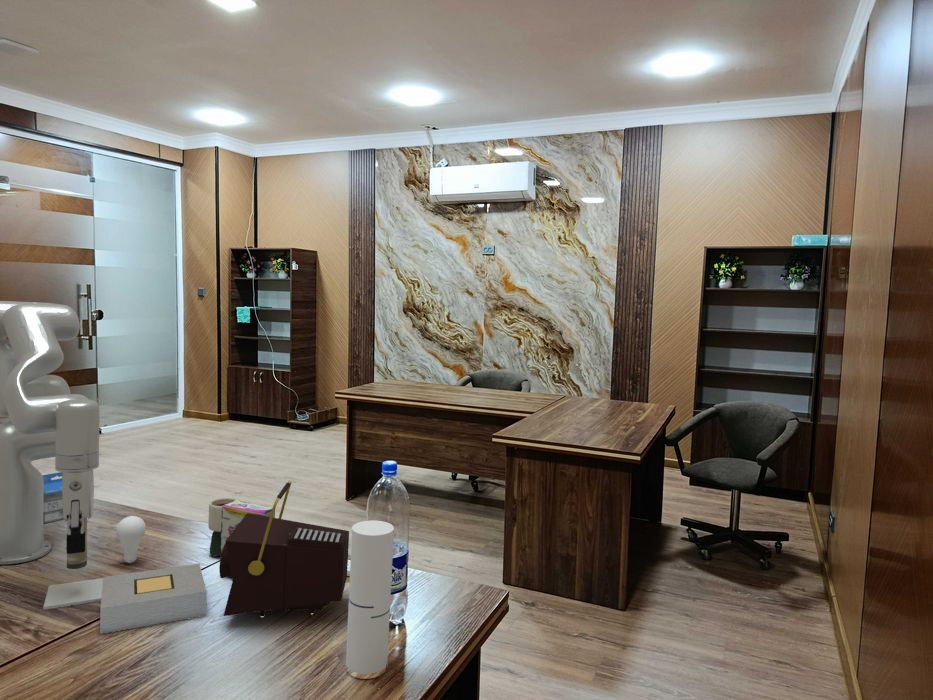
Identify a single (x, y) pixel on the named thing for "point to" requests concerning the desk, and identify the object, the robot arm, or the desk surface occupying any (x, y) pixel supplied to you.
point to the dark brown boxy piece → (283, 564)
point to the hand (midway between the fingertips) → (76, 548)
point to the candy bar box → (239, 516)
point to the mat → (73, 593)
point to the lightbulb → (130, 536)
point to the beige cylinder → (78, 558)
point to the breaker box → (151, 599)
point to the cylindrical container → (369, 596)
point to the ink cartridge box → (52, 498)
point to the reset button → (153, 584)
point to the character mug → (216, 523)
